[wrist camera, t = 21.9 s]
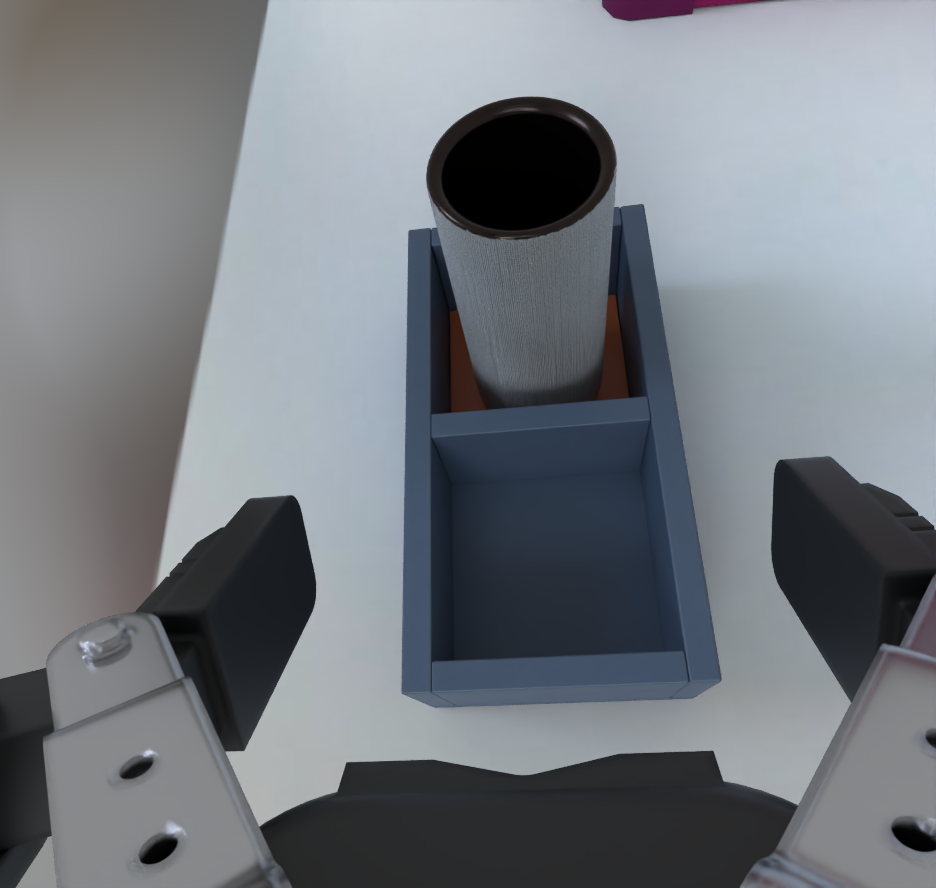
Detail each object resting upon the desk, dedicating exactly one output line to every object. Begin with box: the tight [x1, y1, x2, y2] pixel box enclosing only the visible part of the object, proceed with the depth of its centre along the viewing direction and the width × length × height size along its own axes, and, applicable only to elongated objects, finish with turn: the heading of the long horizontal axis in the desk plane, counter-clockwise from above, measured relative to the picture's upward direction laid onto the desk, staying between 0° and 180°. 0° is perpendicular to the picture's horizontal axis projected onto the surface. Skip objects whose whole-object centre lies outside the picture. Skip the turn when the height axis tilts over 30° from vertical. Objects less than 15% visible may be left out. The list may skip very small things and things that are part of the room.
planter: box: [426, 97, 617, 410], centre depth 21 cm, size 4×4×10 cm
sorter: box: [402, 204, 722, 708], centre depth 23 cm, size 8×15×5 cm, turn 1°
